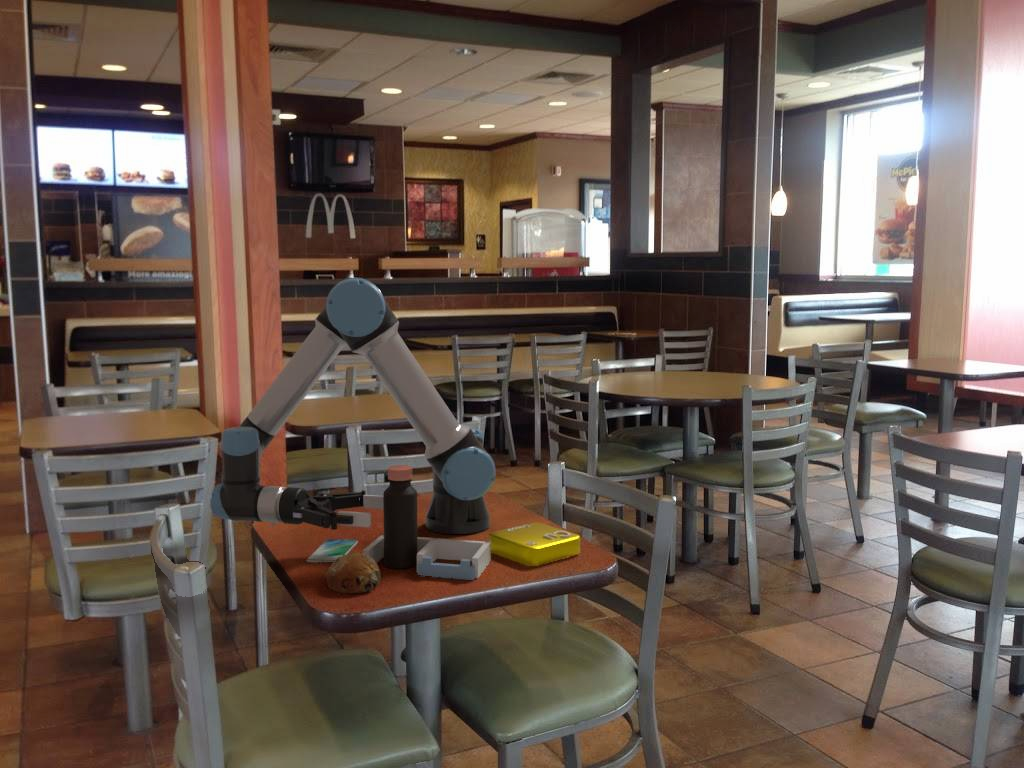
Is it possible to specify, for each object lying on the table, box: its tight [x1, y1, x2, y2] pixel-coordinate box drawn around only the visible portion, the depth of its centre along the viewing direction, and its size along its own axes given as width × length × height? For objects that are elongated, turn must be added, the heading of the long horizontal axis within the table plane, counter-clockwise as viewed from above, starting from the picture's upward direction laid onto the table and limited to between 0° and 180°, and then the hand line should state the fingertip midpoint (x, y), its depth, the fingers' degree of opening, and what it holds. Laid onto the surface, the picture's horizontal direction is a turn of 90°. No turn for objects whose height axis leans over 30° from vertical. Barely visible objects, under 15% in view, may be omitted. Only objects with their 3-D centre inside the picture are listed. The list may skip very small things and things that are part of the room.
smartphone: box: [305, 538, 359, 564], centre depth 190 cm, size 7×1×15 cm
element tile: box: [488, 522, 581, 567], centre depth 190 cm, size 15×15×5 cm
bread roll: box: [326, 552, 382, 595], centre depth 169 cm, size 10×10×8 cm
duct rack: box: [362, 534, 492, 581], centre depth 180 cm, size 12×24×4 cm, turn 78°
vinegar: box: [382, 464, 418, 570], centre depth 181 cm, size 7×7×20 cm
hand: (382, 511), depth 181 cm, fingers open, 13 cm apart
